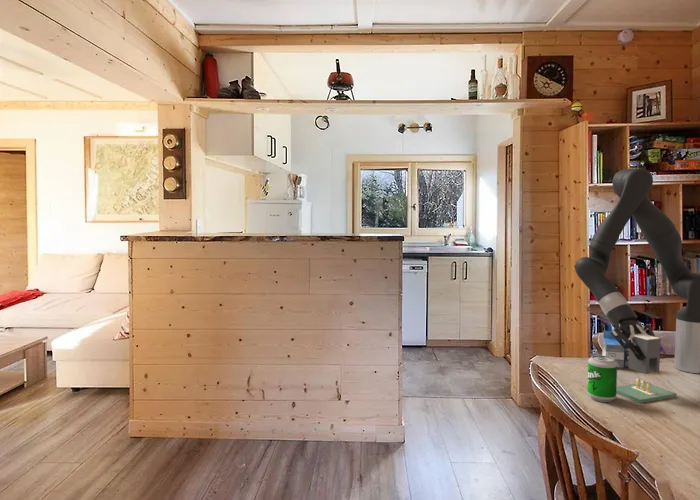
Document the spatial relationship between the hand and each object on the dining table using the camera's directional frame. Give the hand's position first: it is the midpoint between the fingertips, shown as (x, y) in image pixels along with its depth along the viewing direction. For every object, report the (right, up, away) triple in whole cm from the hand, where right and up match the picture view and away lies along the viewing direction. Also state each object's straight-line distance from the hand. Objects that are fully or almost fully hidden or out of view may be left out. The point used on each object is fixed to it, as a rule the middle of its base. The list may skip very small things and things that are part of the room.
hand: (649, 358), depth 139 cm
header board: (0, -11, +3) cm, 12 cm away
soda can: (-14, -12, 0) cm, 19 cm away
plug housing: (-1, -4, +2) cm, 5 cm away
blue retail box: (+6, -10, +27) cm, 30 cm away
